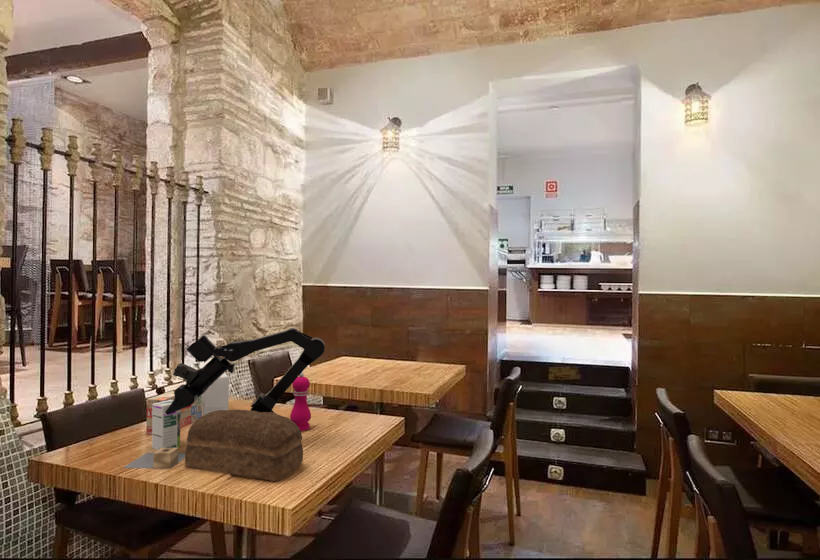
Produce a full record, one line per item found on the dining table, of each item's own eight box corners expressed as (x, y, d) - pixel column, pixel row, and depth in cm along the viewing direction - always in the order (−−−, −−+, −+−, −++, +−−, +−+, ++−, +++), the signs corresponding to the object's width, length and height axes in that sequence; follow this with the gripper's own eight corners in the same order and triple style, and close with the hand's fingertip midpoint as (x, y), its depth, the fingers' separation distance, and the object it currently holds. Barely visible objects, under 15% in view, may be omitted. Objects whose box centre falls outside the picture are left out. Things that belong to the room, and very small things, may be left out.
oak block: (177, 462, 132) (178, 447, 132) (169, 468, 128) (170, 453, 128) (161, 462, 132) (162, 447, 132) (153, 468, 128) (153, 452, 128)
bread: (280, 485, 120) (281, 422, 120) (177, 470, 129) (178, 411, 129) (308, 464, 134) (309, 408, 134) (213, 452, 143) (214, 399, 143)
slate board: (190, 455, 140) (191, 452, 140) (170, 471, 128) (170, 468, 128) (146, 455, 139) (147, 452, 140) (122, 470, 127) (122, 467, 127)
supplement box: (228, 415, 184) (229, 376, 185) (204, 417, 180) (204, 378, 180) (225, 409, 192) (225, 372, 192) (201, 412, 188) (201, 374, 188)
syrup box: (161, 454, 140) (162, 405, 141) (151, 450, 144) (152, 402, 144) (180, 448, 145) (181, 401, 146) (169, 445, 148) (170, 398, 149)
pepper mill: (314, 429, 166) (314, 372, 166) (294, 433, 162) (295, 374, 162) (306, 424, 172) (307, 369, 172) (286, 428, 168) (287, 371, 168)
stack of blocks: (187, 418, 180) (187, 385, 180) (201, 419, 178) (202, 386, 179) (145, 435, 159) (146, 398, 159) (162, 436, 157) (163, 399, 158)
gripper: (198, 350, 155) (161, 385, 153) (183, 359, 137) (140, 398, 135) (223, 374, 157) (186, 408, 154) (211, 386, 139) (169, 425, 136)
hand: (171, 409), depth 145 cm, fingers open, 9 cm apart
